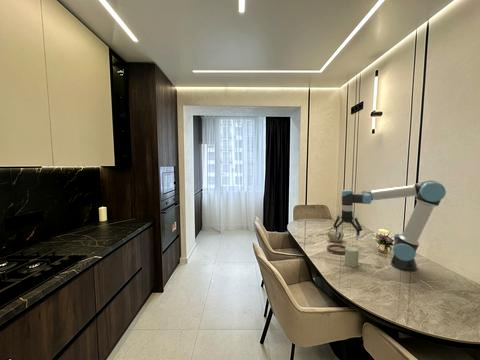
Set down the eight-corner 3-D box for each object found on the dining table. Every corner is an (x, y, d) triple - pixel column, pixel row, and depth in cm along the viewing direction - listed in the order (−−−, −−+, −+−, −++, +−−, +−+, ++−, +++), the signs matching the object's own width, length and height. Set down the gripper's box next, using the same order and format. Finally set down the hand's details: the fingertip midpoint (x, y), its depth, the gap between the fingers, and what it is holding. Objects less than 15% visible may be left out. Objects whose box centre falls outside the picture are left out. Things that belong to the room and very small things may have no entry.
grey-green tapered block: (346, 260, 173) (346, 245, 172) (359, 263, 167) (360, 247, 166) (343, 264, 166) (343, 248, 165) (357, 268, 160) (357, 251, 159)
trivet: (352, 250, 192) (352, 247, 192) (342, 256, 181) (342, 253, 181) (333, 245, 205) (333, 242, 205) (323, 250, 194) (323, 247, 194)
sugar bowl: (348, 244, 209) (348, 228, 208) (332, 244, 208) (332, 228, 208) (338, 237, 228) (338, 222, 227) (324, 237, 228) (324, 223, 227)
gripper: (366, 211, 163) (366, 239, 164) (332, 207, 180) (332, 233, 181) (364, 213, 158) (364, 242, 159) (328, 209, 175) (328, 236, 176)
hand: (347, 238), depth 170 cm, fingers open, 13 cm apart
